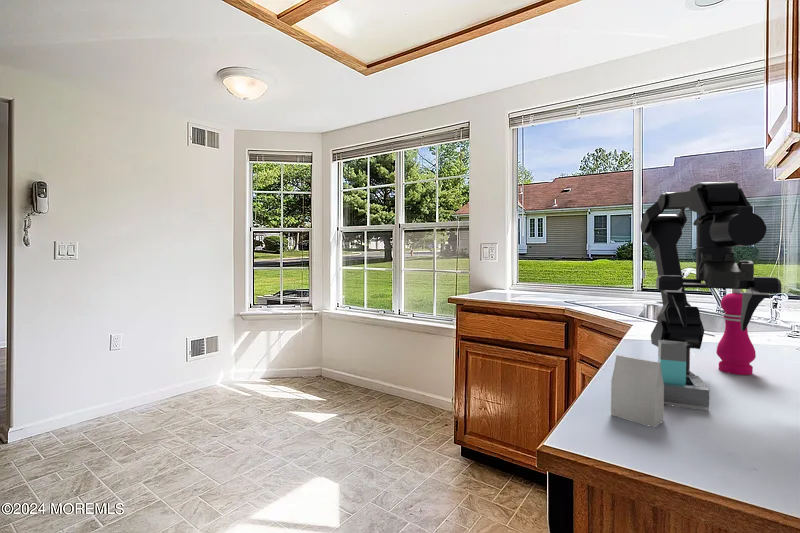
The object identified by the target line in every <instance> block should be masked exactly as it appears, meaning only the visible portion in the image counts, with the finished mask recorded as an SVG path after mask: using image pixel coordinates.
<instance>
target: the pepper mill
mask: <svg viewBox="0 0 800 533" xmlns="http://www.w3.org/2000/svg"><path fill="white" fill-rule="evenodd" d="M731 291H732V293H727V294H725V295H724V296H723V297H722V298H721V299H720V307H721V309H722V310H723V311H724V313H722V315H723V318H722V319H723V320H724V322H725V327H724V332H723V335H722V336H721V338H720V340H719V342H718V343H717V346H716V355H717V357H718V358H720V360H721V361H719V362H718V370H719V371H721V372H723V373H726V374H732V375H737V376H751V375H753V369H754V367H753V366H752V365H751V363H752V362H754V361H755V359H756V356H757V354H756V350H755V347H754V344H753V343H752V341H751V339H750V337H749V332H748V331H749V330H748V327H747V328H746V330H745V331H742V330H741V309H742V297H743V289H731Z"/></svg>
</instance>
